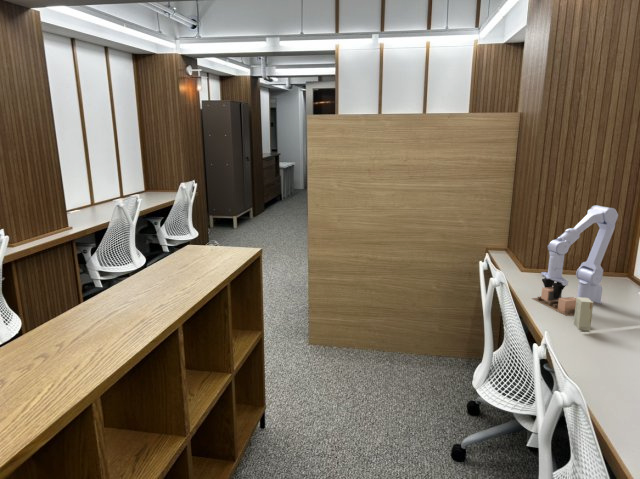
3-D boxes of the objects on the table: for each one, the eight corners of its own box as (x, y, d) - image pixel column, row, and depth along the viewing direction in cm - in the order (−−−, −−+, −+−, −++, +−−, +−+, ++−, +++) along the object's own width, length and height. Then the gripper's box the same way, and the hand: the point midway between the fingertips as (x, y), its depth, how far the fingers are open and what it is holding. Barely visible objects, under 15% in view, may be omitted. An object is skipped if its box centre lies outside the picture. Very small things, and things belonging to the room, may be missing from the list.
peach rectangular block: (541, 298, 213) (542, 287, 211) (554, 297, 214) (555, 286, 213) (548, 301, 208) (549, 290, 207) (561, 300, 210) (563, 289, 209)
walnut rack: (555, 298, 220) (555, 293, 219) (592, 315, 199) (592, 310, 198) (530, 300, 217) (531, 295, 216) (566, 318, 196) (566, 312, 195)
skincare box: (590, 332, 181) (594, 302, 179) (577, 331, 182) (581, 301, 179) (584, 326, 187) (588, 297, 185) (572, 325, 188) (576, 296, 186)
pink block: (570, 307, 205) (571, 296, 204) (578, 311, 201) (579, 300, 200) (556, 308, 204) (557, 297, 203) (564, 312, 199) (565, 301, 198)
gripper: (536, 263, 214) (533, 291, 217) (559, 272, 200) (556, 302, 203) (550, 262, 216) (546, 290, 218) (573, 271, 202) (569, 301, 205)
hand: (552, 296), depth 211 cm, fingers closed on peach rectangular block, 4 cm apart
